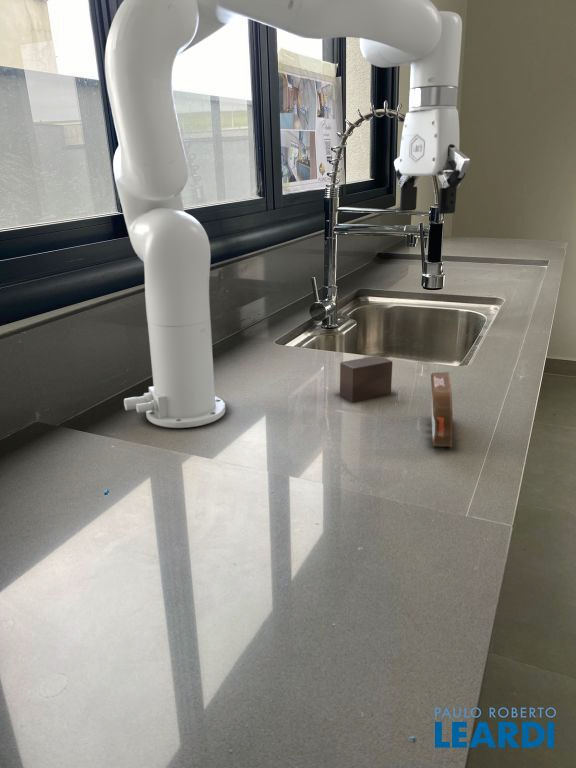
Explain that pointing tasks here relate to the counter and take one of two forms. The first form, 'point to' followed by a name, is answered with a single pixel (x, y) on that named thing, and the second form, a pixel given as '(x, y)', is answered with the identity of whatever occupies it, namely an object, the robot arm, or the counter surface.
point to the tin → (441, 410)
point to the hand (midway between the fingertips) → (426, 211)
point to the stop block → (365, 378)
